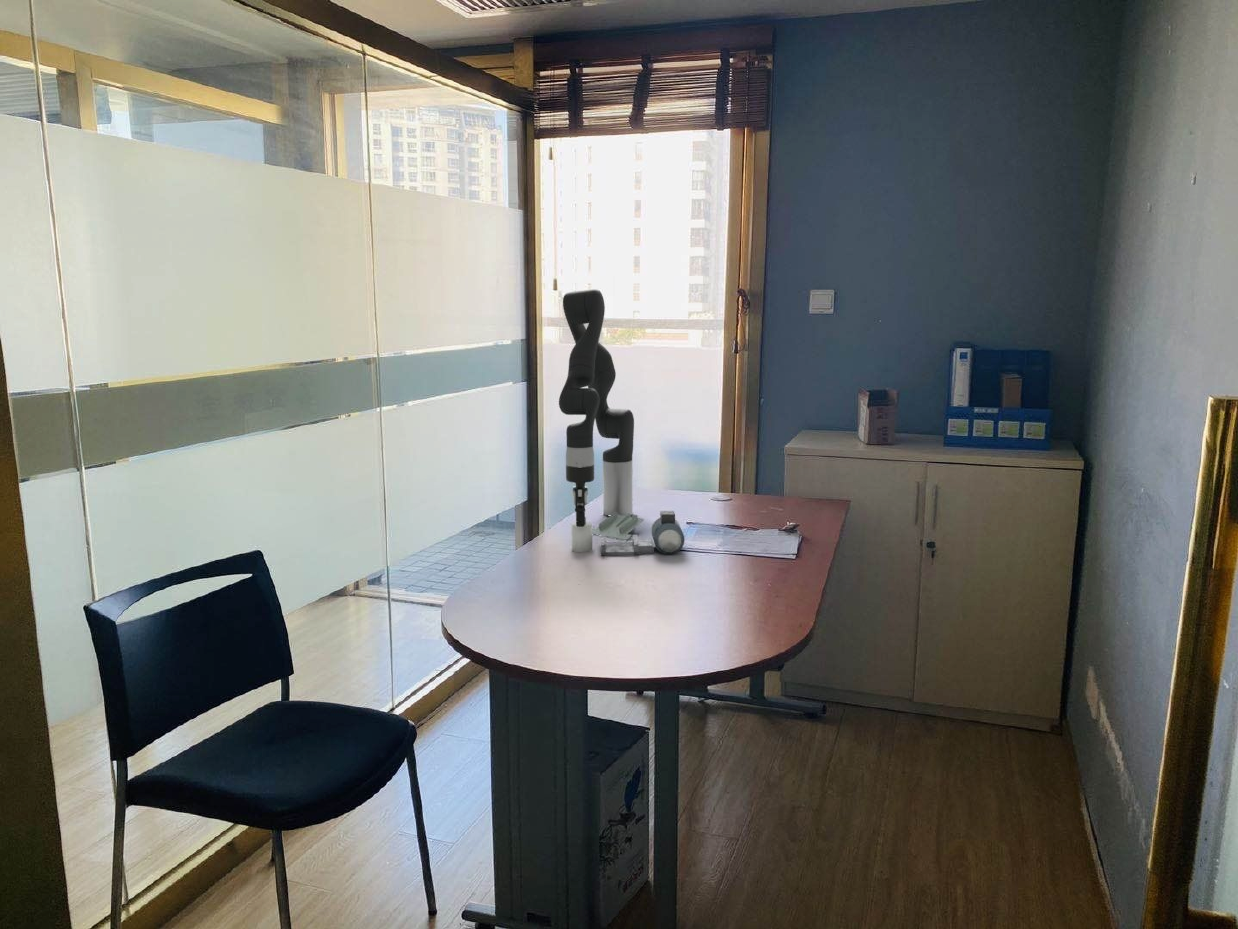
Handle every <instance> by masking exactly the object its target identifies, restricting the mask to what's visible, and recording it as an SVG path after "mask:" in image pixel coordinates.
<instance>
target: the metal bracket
mask: <svg viewBox="0 0 1238 929" xmlns="http://www.w3.org/2000/svg"><path fill="white" fill-rule="evenodd" d="M644 520H645V518H642V517H641V518H640V517H638V514H634V515H633V516H631V515H630V513H628V514H627V515H626V516H622V515H618V514H617V512H613V514H612V516H607V517H606V518H604V519H603V520H602V521H600V523H599V524H598V526H597V527H596V528H593V527H592V534H598V535H605V536H607V537H606V538H609V537H611V538H610V539H614V538H616V539H615V540H618V541H623V540H627V541H628V540H630V538H632V535H633V534H630V532H632V531H633V530H635V529H636V527H637V526H639V525H640V524H641V523H643V521H644ZM634 528H635V529H634ZM598 535H597V536H598Z"/></svg>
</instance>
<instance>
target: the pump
mask: <svg viewBox="0 0 1238 929" xmlns="http://www.w3.org/2000/svg"><path fill="white" fill-rule="evenodd" d="M570 528H571V530H570V531H571V551H572V552H575V553H587V552H591V551H593V548H594V547H593V546H594V545H593V535H592V528H593V523H592V522H589V521H587V517H586V516H585V525H584V527H577V526H576V521H574V522H572V523H571V526H570Z"/></svg>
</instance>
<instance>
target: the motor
mask: <svg viewBox="0 0 1238 929" xmlns="http://www.w3.org/2000/svg"><path fill="white" fill-rule="evenodd" d="M659 512H660V514H659V515H660V517H659V518H657V519H656V520H655V521H654V522H653V523H652V526H651V536H652V539H653V540H652V539H639V538H638V535H637V534H631V535H632V537H631V538H632V539H631V540H632V541H606V537H605V535H601V536H600V556H601V557H614V556H615V557H618V556H619V557H620V556H621V557H622V556H623V557H625V556H626V557H629V556H640V554H654V553H655V552H654V550H655V549H654V548H656V549H657V551H658V552H660V553H661V554H663V555H668V556H669V555H670V556H671V555H675V554H677V553H679V552H680V551H681V549H683V547H684V545H685V540H686V539H685V535H684V532H683V529H682V527H681V525H680V523H679V522H678V520H677V519H676V513H675V511H674V510H661V511H659Z"/></svg>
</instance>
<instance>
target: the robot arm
mask: <svg viewBox="0 0 1238 929" xmlns="http://www.w3.org/2000/svg"><path fill="white" fill-rule="evenodd" d="M562 308H563V312H564V316H565V319H566V322H567V324H568V327H569V330H570V332H571V335H572V338H573V340H574V343H575V345H574V346H573V348H572V350H571V352H570V354H569V359H568V371H567V377H566V379H565V380H566V381H565V383H564V386H563V387H562V389H561V392H560V395H559V399H558V406H559V407H558V408H559V409H560V411H561V413H563V414H564V415H567V416H569V415H570V416H575V415H576V416H585V418H584V420H582V421H581V422H576V423H571V424H569V425H568V426H566V431H565V432H566V451H565V452H566V453H565V479H566V482H568V483H574V484H575V486H573V487H572V496H573V505H574V506H575V508H574V512H575V519H576V520H575V522H576V526H577V527H584V525H585V517H586V506H587V505H588V504H587V503H588V501H587V500H588V494H589V492H588V486H586V483H590V482H594V480H595V452H594V426H595V425H596V429H597V432H598V435H600V437H602V438H605V439H612V440H613V439H617V440H618V445H616V446H615V447H612V448H607V449H605V450H604V451H603V452H602V485H603V486H602V487H603V488H602V490H603V491H602V495H603V496H602V497H603V501H602V502H603V503H602V504H603V505H602V506H603V510H602V511H603V515H604V514H605V515H604V516H606V515H611V516H612V514H613V512H617V514H618V515H622V516H626V515H627V514H628V513H630V516H631V515H633V514H632V513H634V512H633V506H634V505H633V504H634V503H633V501H634V498H633V496H634V494H633V490H634V489H633V486H634V485H633V454H634V453H633V452H634V437H635V436H634V432H635V418H634V413H633V412H632V411H631V409H626V408H624V409H623V408H611V407H609V405H608V400H607V399H608V396H609V394H610V392H611V389H612V387H613V386H614V384H615V381H616V375H617V374H616V369H615V365H614V362H613V358H612V355H611V353H610V352H609V350H608V349H607V348H606V347H605V346H604V345H603V344H601V343H600V337H601V332H602V328H603V324H604V319H605V310H606V309H605V308H606V306H605V300H604V296H603V294H602V292H601V291H600V290H599V289H597V288H593V289H592V288H591V289H589V288H588V289H582V290H575V291H569V292H567V293H565V294H564V296H563V298H562ZM586 324H587V327H586V326H585V325H586ZM611 516H610V517H611Z"/></svg>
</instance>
